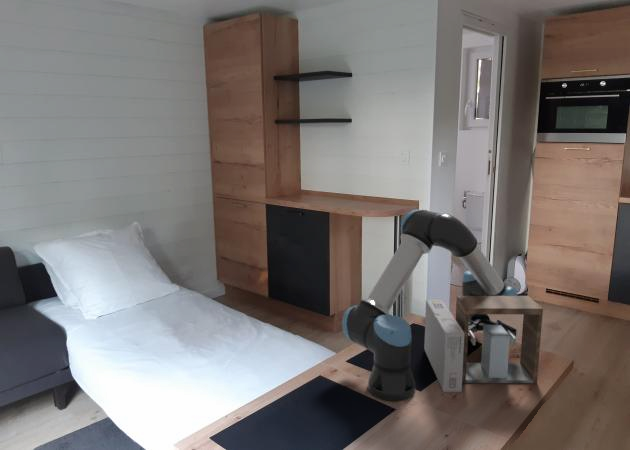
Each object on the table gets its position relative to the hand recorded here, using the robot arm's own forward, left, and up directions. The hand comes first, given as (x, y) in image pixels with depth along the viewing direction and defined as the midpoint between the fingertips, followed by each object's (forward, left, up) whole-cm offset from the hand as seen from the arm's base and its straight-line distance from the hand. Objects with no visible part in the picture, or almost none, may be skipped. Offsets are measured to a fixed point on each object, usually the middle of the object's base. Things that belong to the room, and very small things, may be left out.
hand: (494, 341), depth 169 cm
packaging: (-18, 0, -11) cm, 21 cm away
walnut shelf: (-1, -3, -10) cm, 11 cm away
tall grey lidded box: (-1, -3, -9) cm, 10 cm away
